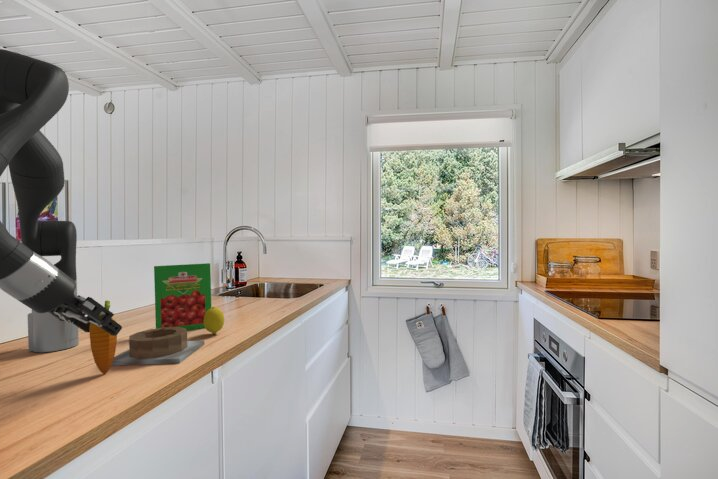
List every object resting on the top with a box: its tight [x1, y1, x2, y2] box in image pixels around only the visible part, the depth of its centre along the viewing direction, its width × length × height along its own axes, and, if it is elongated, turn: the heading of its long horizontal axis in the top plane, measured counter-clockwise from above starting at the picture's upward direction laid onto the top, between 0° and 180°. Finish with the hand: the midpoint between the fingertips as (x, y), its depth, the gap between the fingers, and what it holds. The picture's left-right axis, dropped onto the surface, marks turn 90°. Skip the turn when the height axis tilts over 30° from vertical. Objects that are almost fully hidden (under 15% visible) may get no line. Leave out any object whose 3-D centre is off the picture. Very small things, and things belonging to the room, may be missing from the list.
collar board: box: [111, 327, 205, 367], centre depth 87 cm, size 16×14×5 cm
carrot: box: [89, 299, 118, 375], centre depth 74 cm, size 5×5×15 cm
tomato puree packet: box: [153, 262, 212, 331], centre depth 109 cm, size 15×1×20 cm, turn 118°
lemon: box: [204, 306, 225, 335], centre depth 104 cm, size 6×6×8 cm
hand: (104, 330), depth 75 cm, fingers open, 8 cm apart
